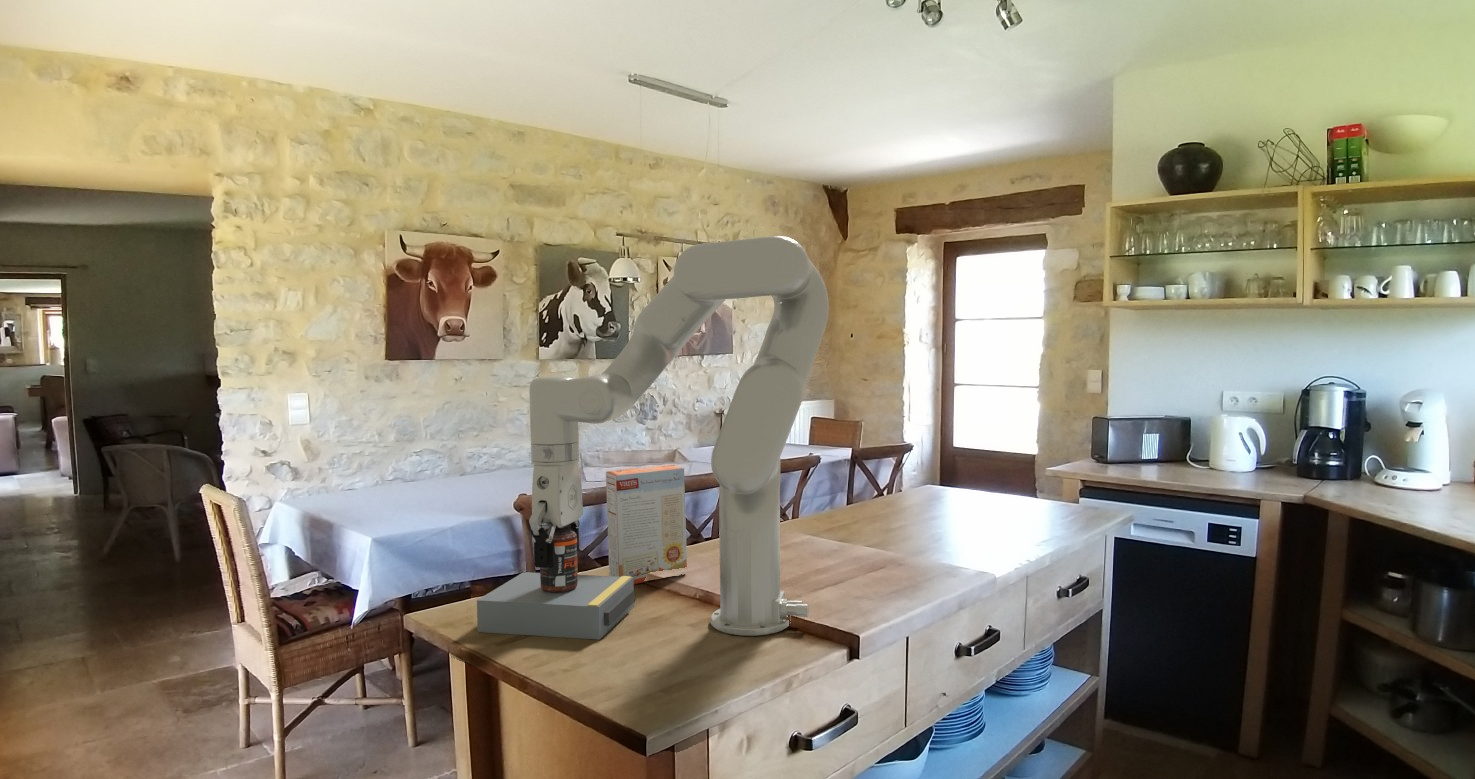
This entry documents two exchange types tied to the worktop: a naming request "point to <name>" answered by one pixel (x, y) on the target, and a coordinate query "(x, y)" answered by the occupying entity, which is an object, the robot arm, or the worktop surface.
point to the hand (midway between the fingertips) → (557, 559)
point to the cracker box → (646, 520)
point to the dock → (556, 607)
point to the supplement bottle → (562, 562)
